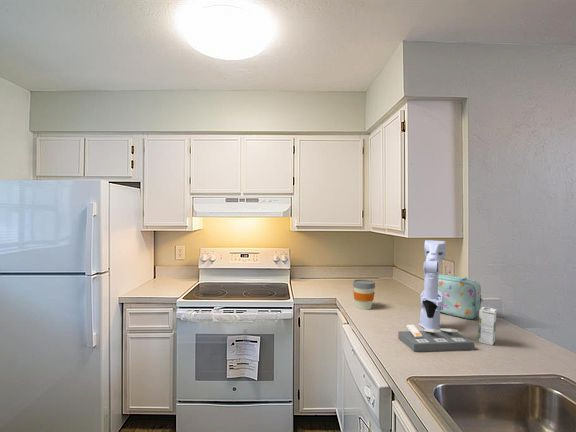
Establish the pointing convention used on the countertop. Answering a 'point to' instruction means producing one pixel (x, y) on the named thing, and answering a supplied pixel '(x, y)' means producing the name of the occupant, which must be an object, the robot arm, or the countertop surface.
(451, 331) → the rocker
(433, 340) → the power strip
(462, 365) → the countertop surface
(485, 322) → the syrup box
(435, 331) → the rocker middle
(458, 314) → the lunch box
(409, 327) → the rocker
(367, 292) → the reusable coffee cup
